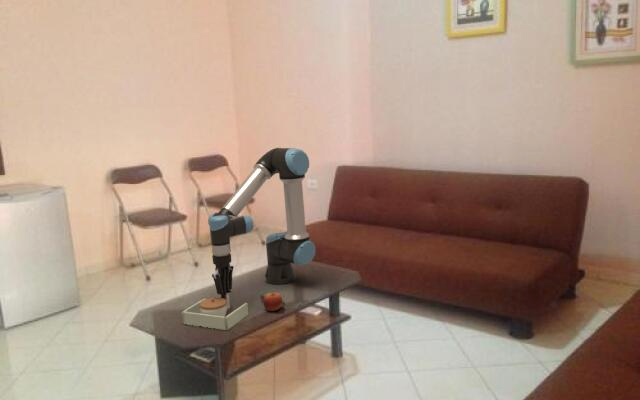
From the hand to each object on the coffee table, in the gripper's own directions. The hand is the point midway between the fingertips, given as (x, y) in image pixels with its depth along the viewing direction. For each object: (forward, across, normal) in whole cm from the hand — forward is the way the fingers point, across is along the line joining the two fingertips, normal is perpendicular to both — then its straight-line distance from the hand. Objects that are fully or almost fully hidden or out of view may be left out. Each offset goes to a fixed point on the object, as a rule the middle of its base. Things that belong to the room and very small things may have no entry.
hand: (226, 308), depth 223 cm
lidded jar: (+2, +9, 0) cm, 9 cm away
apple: (+2, -8, +18) cm, 20 cm away
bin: (+2, +8, 0) cm, 8 cm away
